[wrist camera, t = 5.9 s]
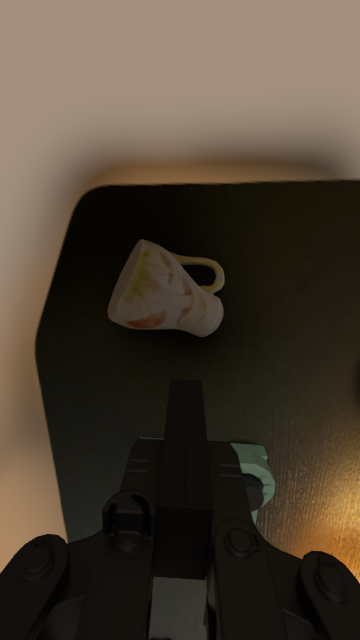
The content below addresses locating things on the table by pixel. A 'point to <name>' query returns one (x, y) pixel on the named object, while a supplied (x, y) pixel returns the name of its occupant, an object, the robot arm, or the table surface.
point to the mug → (165, 293)
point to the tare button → (253, 491)
